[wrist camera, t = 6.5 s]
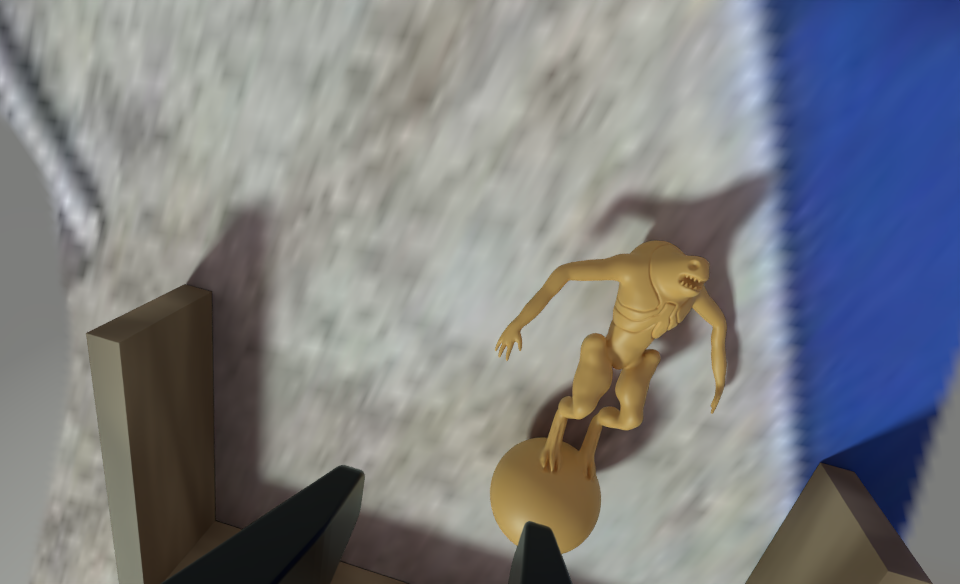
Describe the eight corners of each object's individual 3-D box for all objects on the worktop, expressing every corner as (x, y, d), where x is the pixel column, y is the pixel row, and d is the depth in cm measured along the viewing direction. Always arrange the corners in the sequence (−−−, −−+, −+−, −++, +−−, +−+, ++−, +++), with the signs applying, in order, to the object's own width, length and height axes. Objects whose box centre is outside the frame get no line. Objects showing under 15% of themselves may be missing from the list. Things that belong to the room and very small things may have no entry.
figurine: (415, 559, 17) (607, 314, 10) (423, 410, 22) (559, 169, 14) (624, 586, 19) (900, 404, 12) (591, 446, 24) (779, 254, 17)
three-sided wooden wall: (854, 472, 18) (932, 584, 14) (704, 698, 24) (729, 825, 20) (184, 284, 21) (86, 333, 17) (194, 530, 26) (122, 612, 22)
